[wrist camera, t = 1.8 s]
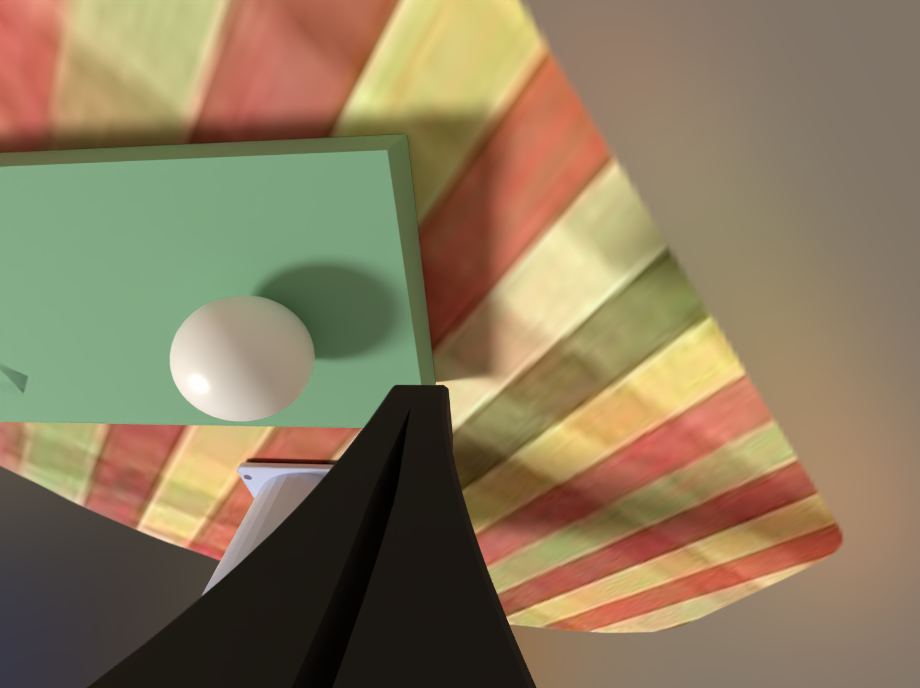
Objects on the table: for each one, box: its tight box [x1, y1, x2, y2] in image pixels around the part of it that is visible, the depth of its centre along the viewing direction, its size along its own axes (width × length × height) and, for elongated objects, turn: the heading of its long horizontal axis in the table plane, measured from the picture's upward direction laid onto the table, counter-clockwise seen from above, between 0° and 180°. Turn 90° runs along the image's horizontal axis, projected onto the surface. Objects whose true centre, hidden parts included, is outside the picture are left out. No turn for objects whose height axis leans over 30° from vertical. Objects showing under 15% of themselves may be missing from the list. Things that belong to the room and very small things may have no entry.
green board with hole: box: [0, 134, 436, 428], centre depth 16 cm, size 13×26×5 cm, turn 93°
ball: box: [170, 295, 315, 421], centre depth 12 cm, size 4×4×4 cm
